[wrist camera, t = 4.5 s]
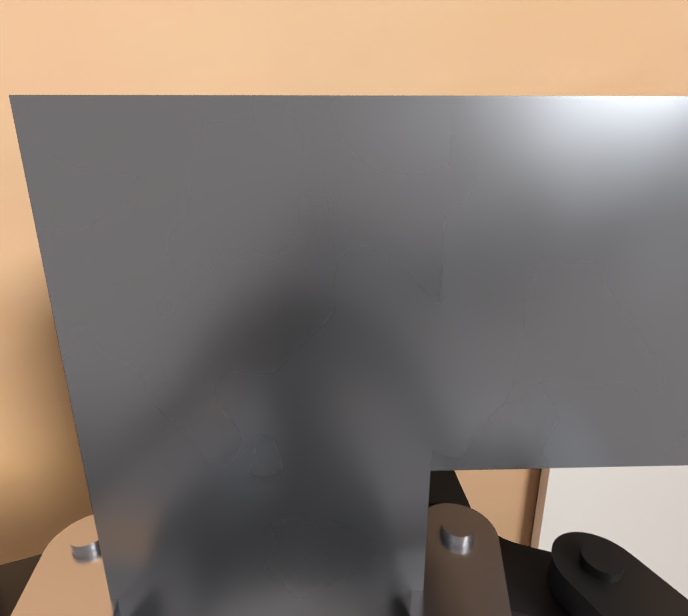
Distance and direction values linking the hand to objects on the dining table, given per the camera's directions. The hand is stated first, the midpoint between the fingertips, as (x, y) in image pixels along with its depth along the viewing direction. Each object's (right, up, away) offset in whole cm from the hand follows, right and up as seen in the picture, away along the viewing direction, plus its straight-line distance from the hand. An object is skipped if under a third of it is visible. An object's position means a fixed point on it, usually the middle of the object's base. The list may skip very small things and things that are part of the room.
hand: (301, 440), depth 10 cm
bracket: (+2, -1, +1) cm, 2 cm away
